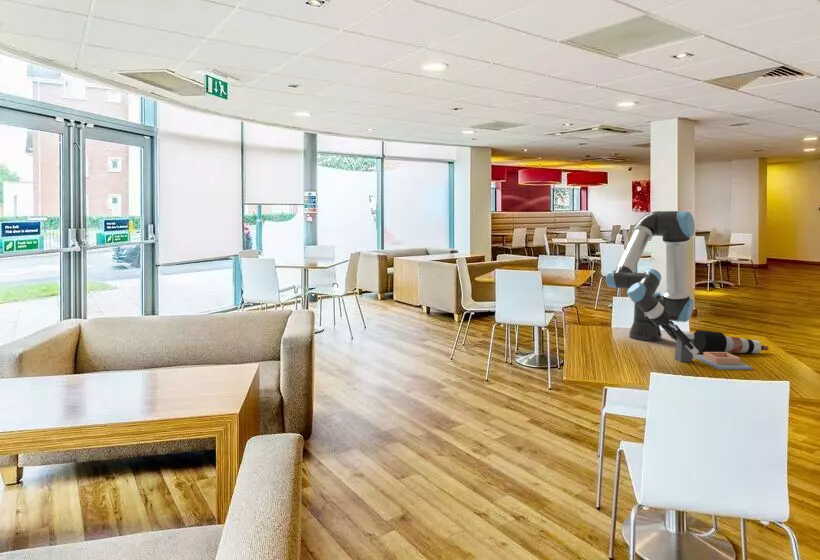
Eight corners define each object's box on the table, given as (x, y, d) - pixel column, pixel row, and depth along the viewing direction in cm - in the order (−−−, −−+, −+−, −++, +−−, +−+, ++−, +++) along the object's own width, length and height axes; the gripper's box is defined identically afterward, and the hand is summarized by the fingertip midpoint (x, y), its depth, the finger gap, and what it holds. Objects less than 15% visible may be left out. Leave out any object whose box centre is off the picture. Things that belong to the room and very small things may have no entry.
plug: (674, 358, 238) (676, 331, 237) (686, 358, 238) (688, 331, 237) (680, 361, 233) (682, 334, 232) (692, 361, 234) (694, 334, 232)
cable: (767, 363, 250) (779, 347, 244) (698, 357, 246) (708, 339, 240) (755, 349, 258) (766, 332, 252) (688, 342, 254) (698, 325, 249)
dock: (692, 356, 242) (692, 349, 242) (723, 357, 242) (724, 349, 242) (718, 369, 222) (718, 361, 222) (752, 369, 222) (753, 361, 222)
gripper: (641, 315, 243) (675, 352, 245) (660, 323, 225) (697, 363, 227) (653, 304, 242) (688, 341, 244) (674, 311, 224) (711, 350, 226)
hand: (692, 351), depth 236 cm, fingers closed on plug, 5 cm apart
